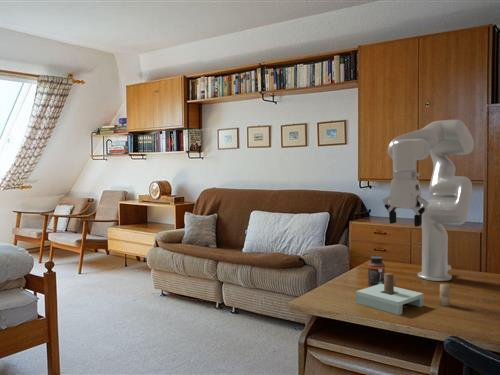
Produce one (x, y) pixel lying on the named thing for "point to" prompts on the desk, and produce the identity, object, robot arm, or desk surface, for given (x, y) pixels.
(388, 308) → the hole board
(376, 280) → the supplement bottle
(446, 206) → the robot arm
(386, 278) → the long pin
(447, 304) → the medium pin
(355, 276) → the desk surface
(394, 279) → the short pin
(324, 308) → the desk surface
